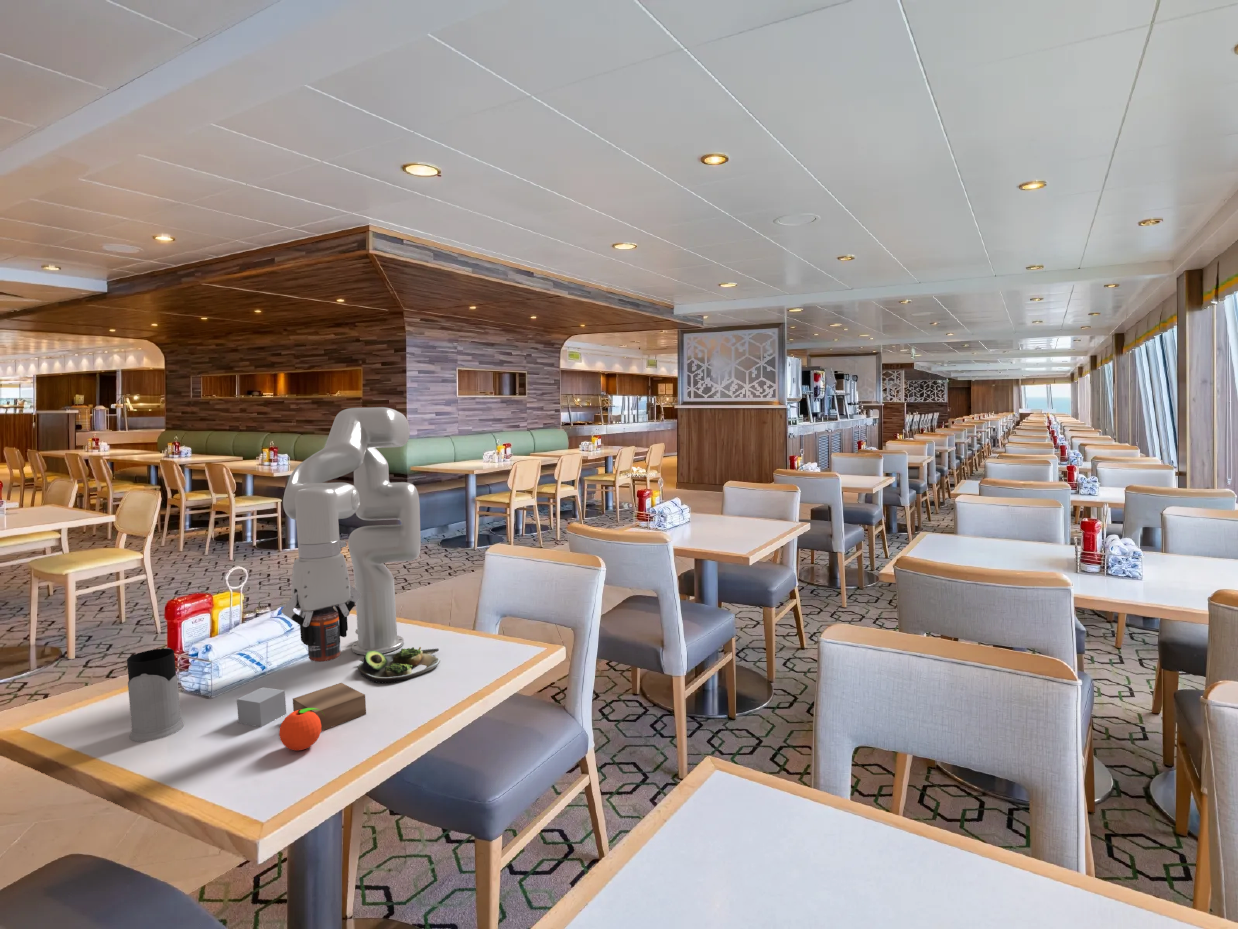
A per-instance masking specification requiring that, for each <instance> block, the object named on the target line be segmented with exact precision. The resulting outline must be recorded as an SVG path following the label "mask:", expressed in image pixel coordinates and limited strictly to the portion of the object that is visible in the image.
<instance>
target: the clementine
mask: <svg viewBox="0 0 1238 929" xmlns="http://www.w3.org/2000/svg"><path fill="white" fill-rule="evenodd" d="M314 709H315V710H319V709H316V708H305V709H301V710H296V711H292V712H291V713H289V714H288V715H287V716H285V718H284V719H283V720H282V722H281V724H280V727H279V731H278V733H279V734H278V735H279V740H280V742H281V743H282V745H283V746H284V747H286V748H287V749H289V750H292V751H298V752H299V751H303V750H306V749H309V748H310V747H311V746H313V745H314V744H315V743H316V742H317V741H318V739H319V738H320V735H321V733H322V731H321V727H322V726H321V721H320V719H319V717H318V715H316V714H315V713H314V712H312V711H310V710H314ZM320 711H321V710H320ZM321 712H322V711H321ZM322 713H323V712H322ZM324 716H325V715H324Z"/></svg>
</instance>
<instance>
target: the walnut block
mask: <svg viewBox="0 0 1238 929" xmlns="http://www.w3.org/2000/svg"><path fill="white" fill-rule="evenodd" d="M366 704H367V703H366V694H364V693H362V692H360V691H359V690H357V689H355V688H353V687H350V686H349V685H346V684H345V683H343V682H339V683H335V684H333V685H330V686H327V687H323V688H320V689H318V690H315V691H311V692H309V693H305V694H302V695H300V696H297V697H294V698H292V709H293V711H292V712H294V711H296V710H301V709H305V708H316V709H319V710H315V709H314V710H310V711H312V712H314V713H315V714H316V715H318V717H319V719H320V721H321V726H322V727H321V732H322V731H325V730H328V729H331V728H333V727H335V726H338V725H341V724H343V723H346V722H350V721H352V720H354V719H356V718H357V719H358V718H361V717H363V716H365V715H367V707H366ZM320 710H321V711H322V712H323V713H322V712H321V711H320ZM324 715H325V716H324Z"/></svg>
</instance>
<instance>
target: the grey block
mask: <svg viewBox="0 0 1238 929" xmlns="http://www.w3.org/2000/svg"><path fill="white" fill-rule="evenodd" d="M286 703H287V702H286V691H285V690H284V689H283V690H282V689H276V688H272V687H271V688H269V687H263V686H262V687H260V688H257V689H255V690H254V691H251V692H249V693H246V694H245V695H243V696H240V697H238V698H237V699H236V705H237V706H236V707H237V717H238V718H237V719H238V720H237V722H238V724H242V725H248V726H253V727H259V728H262V727H265V726H266V725H268V724H270V723H272V722H275V721H276V720H278V719H280V718H281V716H282V717H284V716H286V715H287V704H286ZM283 715H284V716H283ZM275 719H276V720H275Z"/></svg>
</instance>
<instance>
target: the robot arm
mask: <svg viewBox="0 0 1238 929" xmlns="http://www.w3.org/2000/svg"><path fill="white" fill-rule="evenodd" d="M410 432H411V428H410V424H409V421H408V419H407V417H406V416H405V415H404V414H403V413H402V412H400V411H398V410H396V409H393V408H389V407H384V406H381V407H380V406H378V407H377V406H376V407H375V406H374V407H351V408H350V407H349V408H346V409H343V410H341V411H339V412H338V413H337V414H336V416H335V418H334V420H333V423H332V426H331V428H330V431H329V434H328V437H327V439H326V442H325V445H324V447H323V448H322V449H320V450H319V451H316V452H315V453H313V454H311V455H310V456H309V457H307V458H305V460H303V461H302V462H300V463H299V464H298V465H297V466H296V467H295V468H294V469H293V471H292V473H291V474H290V476H289V478H288V482H287V484H286V487H285V490H284V494H283V499H282V506H283V510H284V512H285V514H286V515H287V517H289V519H292V520H294V521H296V533H297V534H296V536H297V537H296V538H297V550H298V551H297V552H298V558H296V559H294V560H293V565H292V574H291V588H290V589H291V590H290V591H291V592H290V593H291V594H290V595H291V597H290V599H289V600H288V601H287V602H286V604H285V605H284V606H283V607H282V609H281V610H280V611H281V614H283V615H284V616H285V617H287V618H288V619H290V620H292V621H294V622H295V623H296V624H297V625H299V631H300V641H301V642H302V643H303V645H305V646H307V647H308V646H309V647H310V646H313V645H314V642H313V627H312V626H311V625H310V620H311V617H312V614H313V611H315V610H320V609H323V608H327V607H332V606H334V607H333V608H334V610H336V611H337V612H338V613H339V626H340V638H341V637H342V638H346V637H347V635H348V634H347V631H348V628H349V627H348V617H349V616H350V612H351V611H352V609H353V608H354V607H355V610H356V624H357V625H356V627H357V629H355V634H356V635H357V641H355V642H353V644H352V645H351V649H352V652H353V653H354V654H357V655H363V656H365V654H366V653H367V652H369V651H378V652H380V653H382V654H386V653H390V652H393V651H396V650H398V649H401V647H402V646H403V645H404V644H405V642H404V641H405V640H404V638H403V637H402V636H401V635H398V630H397V629H398V627H397V613H396V612H397V609H396V592H395V579H394V576H393V573H392V572H391V570H390V569H389V568H388V567H387V566H386V563H402V562H412V561H414V560H416V559H417V558H418V557H419V555H420V552H421V546H422V545H421V544H422V543H421V542H422V540H421V538H422V537H421V505H420V495H419V492H418V489H417V487H416V486H415V485H414V484H413V483H411V482H405V481H401V482H397V481H396V482H390V476H389V474H390V472H389V463H388V460H387V459H386V458H385V457H384V455H383V454H382V453H381V452H380V451H379V450H378V449H379V448H382V449H383V448H400V447H401V448H402V447H403V446H405V445H407V444H408V442H409V440H410V436H411V434H410ZM377 448H378V449H377ZM352 472H353V484H351V483H347V482H328V481H331V480H333V479H338V478H339V477H344V476H345V475H348V474H351V473H352ZM354 514H356V515H355V516H356V517H358V518H359V519H361V520H363V521H388V520H390V521H391V520H398V521H400V523H401V524H388V525H387V524H383V525H382V524H380V525H365V526H361V527H358V528H355V529H354V530H352V532H351V533H350V534H349V535H348V536H349V537H348V539H347V540H348V542H347V541H346V540H341V538H340V525H339V520H341V519H343V520H344V519H347V518H350V517H352V516H353V515H354ZM347 543H348V544H347ZM347 545H348V546H347ZM346 547H348V551H349V556H350V560H351V564H352V570H353V578H354V587H353V586H352V585H351V584H350V583H351V581H350V575H349V570H348V566H347V562H346V558H345V556H344V554H343V553H342V549H343V548H346ZM294 609H297V610H299V614H298V613H297V612H295V611H294Z"/></svg>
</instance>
